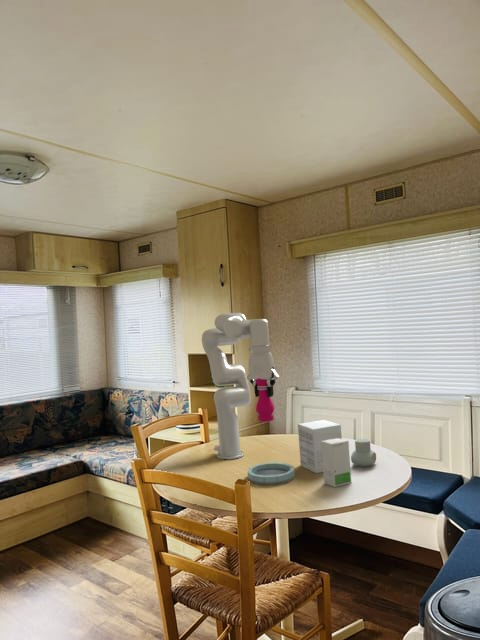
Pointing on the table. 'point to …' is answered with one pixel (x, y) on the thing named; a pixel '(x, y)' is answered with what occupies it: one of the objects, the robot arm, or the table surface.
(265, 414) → the pepper mill
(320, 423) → the supplement box
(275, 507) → the table surface
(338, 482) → the skincare box
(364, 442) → the air freshener
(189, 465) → the table surface
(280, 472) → the round tray
